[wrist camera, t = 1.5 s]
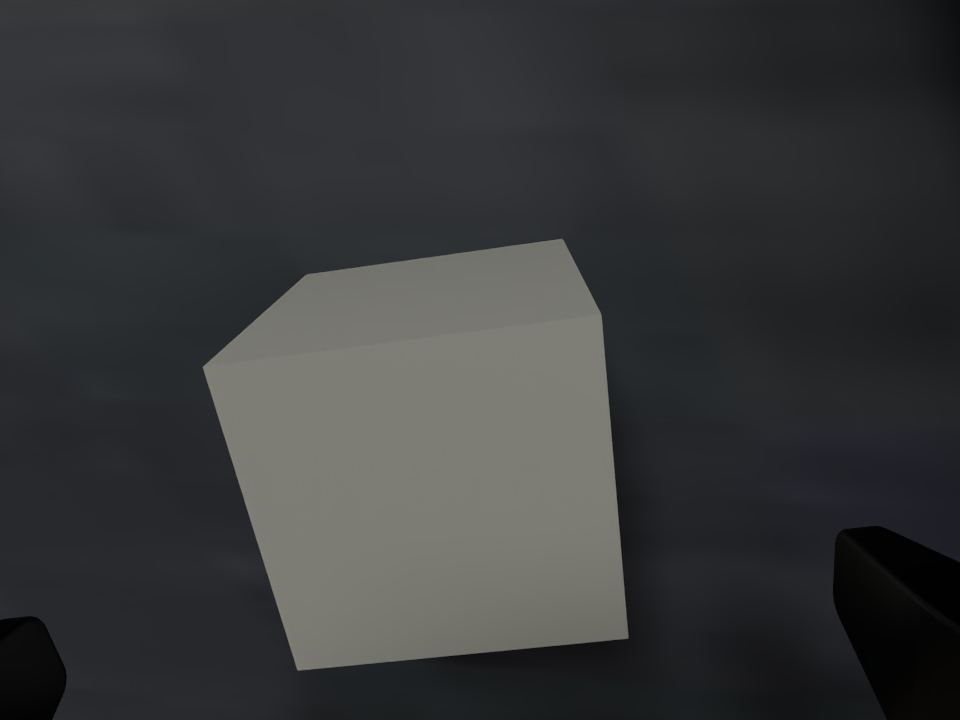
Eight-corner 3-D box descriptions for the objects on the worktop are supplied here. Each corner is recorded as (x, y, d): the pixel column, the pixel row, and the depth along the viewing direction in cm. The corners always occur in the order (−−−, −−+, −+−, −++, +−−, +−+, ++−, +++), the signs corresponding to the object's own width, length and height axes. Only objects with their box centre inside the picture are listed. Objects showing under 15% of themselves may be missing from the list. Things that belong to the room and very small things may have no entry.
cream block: (562, 238, 13) (601, 315, 8) (585, 466, 14) (628, 638, 10) (306, 273, 13) (202, 367, 8) (359, 492, 15) (297, 670, 10)
